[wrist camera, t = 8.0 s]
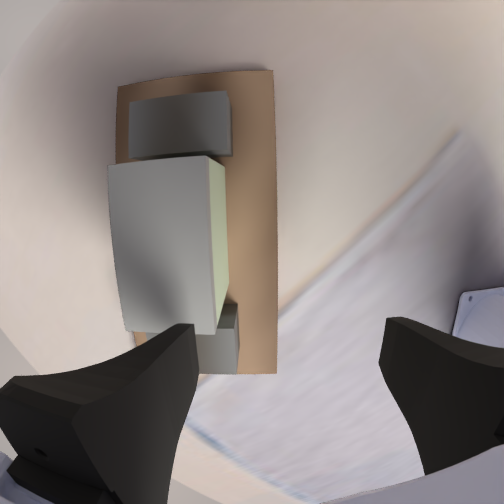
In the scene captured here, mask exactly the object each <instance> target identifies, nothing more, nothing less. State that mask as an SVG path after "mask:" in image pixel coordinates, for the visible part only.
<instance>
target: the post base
mask: <svg viewBox="0 0 504 504" xmlns="http://www.w3.org/2000/svg"><path fill="white" fill-rule="evenodd" d="M191 156H207V157H209V158H211V159H212V160H214V161H216V162H217V163H219V164H221V165H222V166H224V167H225V188H226V219H227V245H228V269H229V285H228V289H227V292H226V296H225V300H224V303H223V307H222V310H221V314H220V318H219V321H218V325H217V329H216V333H215V335H205V334H195V336H196V345H197V354H198V362H199V374H276V373H277V323H278V235H277V172H276V135H275V106H274V82H273V70H258V71H230V72H215V73H204V74H194V75H185V76H177V77H170V78H163V79H157V80H151V81H145V82H140V83H134V84H129V85H125V86H120V87H118V94H117V112H116V164H123V163H130V162H139V161H147V160H157V159H167V158H178V157H191ZM158 334H160V333H150V332H134V336H135V341H136V346H139V345H141V344H143V343H145V342H146V341H148V340H150V339H151V338H153V337H155V336H156V335H158Z"/></svg>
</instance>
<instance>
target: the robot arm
mask: <svg viewBox="0 0 504 504" xmlns="http://www.w3.org/2000/svg"><path fill="white" fill-rule="evenodd" d="M469 297H470V298H469ZM468 299H469V300H468ZM379 366H380V369H381V372H382V374H383V377H384V380H385V382H386V384H387V386H388V388H389V390H390V392H391V393H392V395H393V397H394V399H395V401H396V402H397V404H398V406H399V408H400V410H401V412H402V413H403V415H404V417H405V419H406V421H407V423H408V425H409V427H410V429H411V431H412V434H413V437H414V440H415V443H416V445H417V448H418V452H419V455H420V458H421V462H422V465H423V469H424V473H425V476H423V477H420V478H417V479H413V480H410V481H407V482H403V483H399V484H396V485H392V486H388V487H384V488H380V489H375V490H371V491H366V492H361V493H357V494H354V495H350V496H347V497H343V498H339V499H335V500H331V501H327V502H323V503H320V504H504V287H499V288H492V289H485V290H477V291H469V292H464V293H463V294H462V295H461V297H460V301H459V306H458V311H457V315H456V320H455V324H454V329H453V333H452V335H450V334H447V333H444V332H442V331H439V330H437V329H434V328H432V327H429V326H427V325H424V324H422V323H419V322H417V321H414V320H411V319H408V318H404V317H391V318H387V319H386V325H385V331H384V337H383V342H382V348H381V353H380V358H379ZM198 375H199V362H198V354H197V345H196V336H195V327H194V324H189V323H177V324H175V325H173V326H171V327H170V328H168V329H166V330H165V331H163V332H161V333H160V334H158V335H156V336H155V337H153V338H151V339H150V340H148V341H146V342H145V343H143V344H141V345H139V346H137V347H135V348H133V349H132V350H130V351H128V352H126V353H124V354H122V355H119V356H117V357H115V358H112V359H110V360H107V361H105V362H102V363H99V364H95V365H92V366H88V367H85V368H81V369H78V370H73V371H68V372H63V373H56V374H48V375H33V376H14V377H13V378H12V379H10V380H9V381H8V382H7V383H6V384H5V385H4V386H3V387H2V388H1V389H0V428H1V430H2V431H3V433H4V434H5V436H6V438H7V439H8V441H9V442H10V444H11V445H12V447H13V448H14V450H15V451H16V453H17V454H18V456H17V457H16V458H15V460H14V461H12V460H11V459H10V458H9V457H8V456H7V455H6V454H4V453H3V452H1V451H0V504H167V500H168V491H169V485H170V479H171V474H172V468H173V463H174V458H175V453H176V448H177V443H178V440H179V437H180V433H181V431H182V428H183V425H184V422H185V419H186V417H187V414H188V411H189V408H190V405H191V403H192V400H193V397H194V394H195V391H196V386H197V381H198Z"/></svg>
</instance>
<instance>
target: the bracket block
mask: <svg viewBox="0 0 504 504" xmlns="http://www.w3.org/2000/svg"><path fill="white" fill-rule="evenodd" d="M108 195H109V212H110V225H111V236H112V246H113V255H114V263H115V270H116V278H117V284H118V291H119V297H120V303H121V309H122V314H123V320H124V325H125V330H126V331H134V332H150V333H161V332H163V331H165V330H166V329H168V328H170V327H171V326H173V325H175V324H177V323H189V324H194V327H195V334H205V335H215V333H216V329H217V325H218V321H219V318H220V314H221V310H222V307H223V303H224V300H225V296H226V292H227V289H228V285H229V269H228V245H227V219H226V188H225V167H224V166H222V165H221V164H219V163H217V162H216V161H214V160H212V159H211V158H209V157H207V156H191V157H178V158H167V159H157V160H147V161H139V162H130V163H123V164H115V165H108Z"/></svg>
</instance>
